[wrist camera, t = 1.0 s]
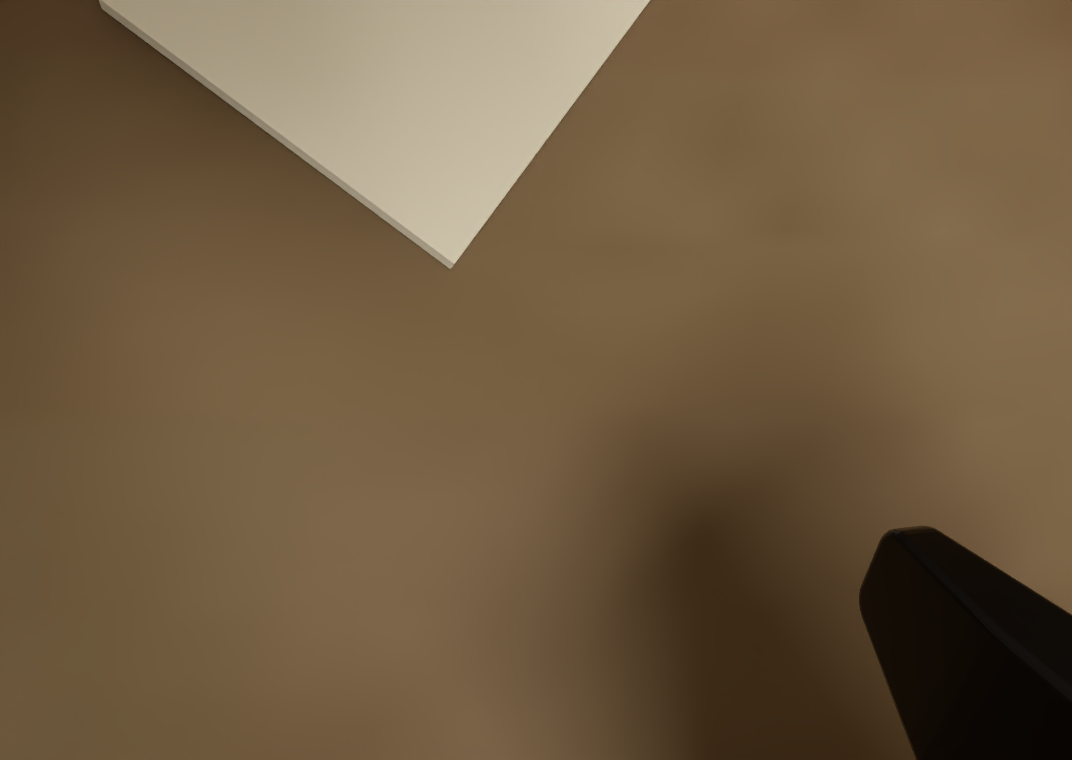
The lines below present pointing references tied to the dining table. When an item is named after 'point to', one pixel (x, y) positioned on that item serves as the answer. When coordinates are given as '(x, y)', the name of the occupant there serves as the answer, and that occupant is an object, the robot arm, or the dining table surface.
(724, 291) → the dining table surface
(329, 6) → the mat
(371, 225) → the dining table surface
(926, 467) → the dining table surface
